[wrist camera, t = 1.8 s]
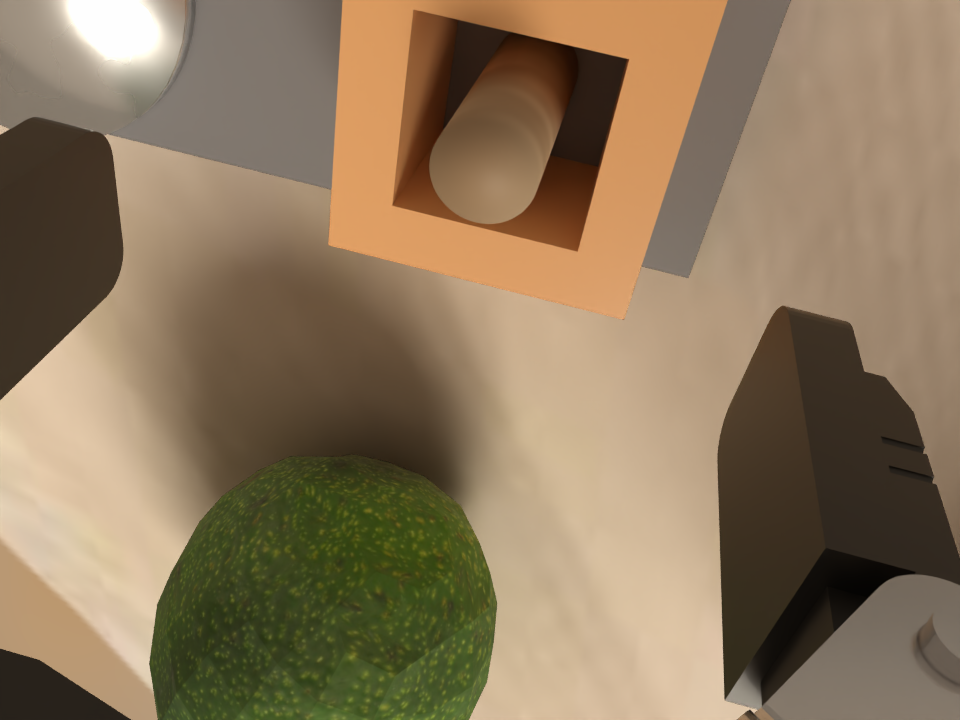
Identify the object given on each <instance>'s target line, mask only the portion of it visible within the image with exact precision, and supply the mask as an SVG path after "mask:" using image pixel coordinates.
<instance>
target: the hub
mask: <svg viewBox="0 0 960 720" xmlns="http://www.w3.org/2000/svg"><path fill="white" fill-rule="evenodd" d="M195 15H196V0H0V125H2V126H4V127H6V128H9V129H11V128H13V127H15V126H16V125H18V124H20V123H21V122H23V121H25V120H27V119H29V118H32V117H41V118H45V119H49V120H53V121H57V122H61V123H65V124H69V125H73V126H77V127H81V128H85V129H89V130H93V131H97V132H99V133H101V134H102V135H106V134H110V133H112V132H114V131H116V130H118V129H120V128H123V127H125V126H127V125H128V124H130V123H131V122H133V121H134V120H136V119H137V118H139V117H140V116H142V115H143V114H144V113H146V112H147V111H149V110H150V109H152V108H153V107H154V106H155V105H156V104H157V103H158V102H159V101H160V100H161V99H162V98H163V97H164V96H165V95H166V93H167V92H168V90H169V89H170V88H171V86H172V85H173V83H174V82H175V80H176V79H177V77H178V75H179V73H180V71H181V68H182V66H183V64H184V62H185V60H186V57H187V54H188V50H189V47H190V43H191V40H192V36H193V29H194V22H195Z"/></svg>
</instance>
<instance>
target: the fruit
mask: <svg viewBox="0 0 960 720" xmlns="http://www.w3.org/2000/svg"><path fill="white" fill-rule="evenodd" d="M496 610H497V601H496V596H495V592H494V588H493V583H492V579H491V575H490V571H489V568H488V566H487V563H486V560H485V557H484V554H483V551H482V549H481V546H480V543H479V541H478V539H477V537H476V535H475V533H474V531H473V529H472V527H471V525H470V523H469V521H468V519H467V517H466V515H465V514H464V512H463V510H462V508H461V506H460V505H459V504H458V503H457V502H455V501H454V500H453V499H452V498H450V497H449V496H448V495H447V494H445V493H444V492H443V491H442V490H440V489H439V488H438V487H437V486H435V485H434V484H433V483H432V482H430V481H429V480H428V479H427V478H425V477H424V476H422V475H420V474H417V473H415V472H412V471H409V470H407V469H404V468H402V467H399V466H396V465H394V464H391V463H389V462H385V461H381V460H377V459H373V458H368V457H364V456H360V455H355V454H352V455H346V456H340V457H317V456H290V457H288V458H286V459H284V460H281V461H279V462H277V463H275V464H272V465H270V466H268V467H266V468H263V469H261V470H259V471H258V472H256V473H255V474H253V475H252V476H250V477H249V478H248V479H246V480H245V481H243V482H242V483H240V484H239V485H238V486H236V487H235V488H233V489H232V490H230V491H229V492H228V493H226V494H225V495H223V496H222V497H221V498H220V499H219V501H218V502H217V503H216V504H215V505H214V506H213V507H212V508H211V510H210V511H209V512H208V513H207V514H206V515H205V516H204V517H203V519H202V520H201V521H200V522H199V524H198V526H197V527H196V529H195V531H194V533H193V535H192V536H191V538H190V540H189V542H188V543H187V545H186V547H185V549H184V551H183V552H182V554H181V556H180V558H179V560H178V561H177V563H176V565H175V567H174V568H173V570H172V572H171V574H170V577H169V579H168V581H167V584H166V586H165V588H164V590H163V593H162V595H161V597H160V600H159V602H158V604H157V611H156V618H155V626H154V633H153V640H152V648H151V655H150V663H149V665H150V671H151V677H152V684H153V690H154V697H155V704H156V710H157V717H158V720H469V718H470V716H471V714H472V712H473V710H474V708H475V706H476V704H477V702H478V699H479V697H480V695H481V693H482V691H483V689H484V687H485V685H486V683H487V678H488V672H489V666H490V660H491V654H492V649H493V643H494V632H495V621H496Z"/></svg>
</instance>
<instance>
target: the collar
mask: <svg viewBox="0 0 960 720" xmlns="http://www.w3.org/2000/svg"><path fill="white" fill-rule="evenodd" d="M727 1H728V0H343V2H342V19H341V36H340V53H339V70H338V88H337V105H336V122H335V139H334V156H333V174H332V191H331V208H330V225H329V243H328V245H330V246H334V247H338V248H342V249H346V250H349V251H353V252H357V253H361V254H365V255H369V256H373V257H377V258H381V259H385V260H389V261H393V262H397V263H401V264H405V265H409V266H413V267H417V268H421V269H425V270H429V271H433V272H437V273H441V274H445V275H448V276H452V277H456V278H460V279H464V280H468V281H472V282H476V283H480V284H484V285H488V286H492V287H496V288H500V289H504V290H508V291H512V292H516V293H520V294H524V295H528V296H532V297H536V298H540V299H543V300H547V301H551V302H555V303H559V304H563V305H567V306H571V307H575V308H579V309H583V310H587V311H591V312H595V313H599V314H603V315H607V316H611V317H615V318H619V319H623V320H624V318H625V315H626V312H627V309H628V306H629V303H630V300H631V297H632V294H633V291H634V287H635V284H636V281H637V278H638V275H639V272H640V269H641V266H642V263H643V260H644V257H645V254H646V251H647V247H648V244H649V241H650V238H651V235H652V232H653V229H654V226H655V223H656V220H657V217H658V214H659V211H660V207H661V204H662V201H663V198H664V195H665V192H666V189H667V186H668V183H669V180H670V177H671V174H672V171H673V167H674V164H675V161H676V158H677V155H678V152H679V149H680V146H681V143H682V140H683V137H684V134H685V130H686V127H687V124H688V121H689V118H690V115H691V112H692V109H693V106H694V103H695V100H696V97H697V94H698V90H699V87H700V84H701V81H702V78H703V75H704V72H705V69H706V66H707V63H708V60H709V57H710V54H711V50H712V47H713V44H714V41H715V38H716V35H717V32H718V29H719V26H720V23H721V20H722V17H723V14H724V10H725V7H726V4H727ZM458 20H462V21H466V22H470V23H475V24H479V25H483V26H487V27H492V28H496V29H500V30H505V31H509V32H513V33H518V34H522V35H526V36H531V37H535V38H539V39H544V40H548V41H552V42H557V43H561V44H565V45H570V46H574V47H578V48H583V49H587V50H591V51H596V52H600V53H604V54H609V55H613V56H617V57H622V58H626V59H627V60H626V64H625V67H624V71H623V75H622V79H621V82H620V86H619V90H618V94H617V98H616V101H615V105H614V109H613V113H612V116H611V120H610V124H609V128H608V131H607V135H606V139H605V143H604V146H603V150H602V154H601V158H600V161H599V165H598V167H597V166H593V165H589V164H585V163H580V162H576V161H572V160H568V159H564V158H560V157H556V156H551V155H550V156H549V159H548V162H547V164H546V167H545V170H544V173H543V175H542V178H541V181H540V184H539V186H538V189H537V192H536V194H535V196H534V199H533V200H532V202H531V203H530V205H529V206H528V207H527V208H526V209H525V210H524V211H523V212H522V213H521V214H519V215H518V216H516V217H515V218H513V219H511V220H508V221H505V222H502V223H496V224H482V223H476V222H472V221H469V220H467V219H464V218H462V217H460V216H459V215H457V214H455V213H454V212H453V211H451V210H450V209H449V208H448V207H447V206H446V205H445V204H444V203H443V202H442V201H441V199H440V198H439V196H438V195H437V193H436V191H435V189H434V187H433V184H432V181H431V177H430V170H429V163H430V156H431V152H432V149H433V147H434V145H435V143H436V141H437V139H438V138H439V136H440V135H441V133H442V132H443V125H444V118H445V111H446V104H447V96H448V89H449V82H450V75H451V68H452V61H453V54H454V46H455V39H456V32H457V25H458Z"/></svg>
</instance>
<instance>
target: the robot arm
mask: <svg viewBox="0 0 960 720" xmlns="http://www.w3.org/2000/svg"><path fill="white" fill-rule="evenodd" d="M122 261H123V240H122V232H121V223H120V214H119V206H118V197H117V188H116V179H115V171H114V162H113V155H112V150H111V147H110V144H109V142H108V140H107V139H106V137H105V136H104V135H102V134H101V133H99V132H97V131H93V130H89V129H85V128H81V127H77V126H73V125H69V124H65V123H61V122H57V121H53V120H49V119H45V118H41V117H32V118H29V119H27V120H25V121H23V122H21V123H20V124H18V125H16V126H15V127H13V128H11V129H10V130H8V131H6V132H5V133H3V134H1V135H0V400H1V399H2V398H3V397H4V396H5V395H6V394H7V393H8V392H9V391H10V390H11V389H12V388H13V387H14V386H15V385H16V384H17V383H18V382H19V381H20V380H21V379H22V378H23V377H24V376H25V375H26V374H28V373H29V372H30V371H31V370H32V369H33V368H34V367H35V366H36V365H37V364H38V363H39V362H40V361H41V360H42V359H43V358H44V357H45V356H46V355H47V354H48V353H49V352H50V351H51V350H52V349H53V348H54V347H55V346H56V345H57V344H58V343H59V342H60V341H61V340H62V339H63V338H65V337H66V336H67V335H68V334H69V333H70V332H71V331H72V330H73V329H74V328H75V327H76V326H77V325H78V324H79V323H80V322H81V321H82V320H83V319H84V318H85V317H86V316H87V315H88V314H89V313H90V312H91V311H92V310H93V309H94V308H95V307H96V306H97V305H98V304H99V303H100V302H102V301H103V300H104V299H105V298H106V297H107V295H108V294H109V293H110V292H111V290H112V289H113V287H114V285H115V283H116V281H117V279H118V277H119V273H120V270H121V266H122ZM924 448H925V447H924V444H923V441H922V437H921V434H920V431H919V428H918V425H917V422H916V418H915V415H914V412H913V411H912V410H911V408H910V407H909V406H908V405H907V404H906V402H905V401H904V400H903V399H902V397H901V396H900V395H899V394H898V392H897V391H896V390H895V389H894V387H893V386H892V385H891V384H890V383H889V381H888V380H887V379H886V378H885V377H883V376H879V375H875V374H871V373H867V372H864V369H863V365H862V362H861V358H860V354H859V350H858V346H857V342H856V338H855V335H854V331H853V328H852V326H851V324H850V323H848V322H846V321H842V320H838V319H834V318H830V317H826V316H822V315H818V314H814V313H810V312H806V311H802V310H798V309H794V308H790V307H786V306H781V307H780V308H778V309H777V310H776V312H775V313H774V314H773V316H772V318H771V319H770V321H769V323H768V325H767V327H766V329H765V332H764V334H763V336H762V338H761V340H760V342H759V344H758V346H757V349H756V351H755V353H754V355H753V357H752V359H751V361H750V363H749V366H748V368H747V370H746V372H745V374H744V376H743V378H742V380H741V383H740V385H739V387H738V389H737V391H736V393H735V395H734V397H733V399H732V402H731V404H730V406H729V408H728V411H727V414H726V416H725V419H724V423H723V426H722V430H721V434H720V440H719V446H718V493H719V526H720V560H721V593H722V627H723V660H724V694H725V701H728V702H732V703H735V704H739V705H743V706H746V707H750V708H753V709H757V710H758V711H756V712H755V713H753V712H752V711H751V710H749V711H747V712H745V713H744V714H743V715H742V716H740V717H739V718H738V719H737V720H960V557H959V554H958V551H957V548H956V545H955V542H954V538H953V535H952V532H951V529H950V526H949V523H948V520H947V516H946V513H945V510H944V507H943V504H942V501H941V497H940V494H939V491H938V488H937V485H936V484H932V481H933V478H934V475H933V472H932V469H931V466H930V463H929V459H928V456H927V454H923V450H924ZM0 720H131V719H129V718H127V717H126V716H124V715H123V714H121V713H120V712H118V711H117V710H115V709H114V708H112V707H111V706H109V705H107V704H106V703H105V702H103V701H101V700H100V699H98V698H97V697H95V696H94V695H92V694H90V693H89V692H88V691H86V690H84V689H83V688H81V687H80V686H78V685H76V684H75V683H74V682H72V681H70V680H69V679H68V678H66V677H64V676H63V675H61V674H60V673H58V672H57V671H55V670H53V669H52V668H51V667H49V666H48V665H46V664H45V663H43V662H42V661H40V660H37V659H34V658H30V657H27V656H23V655H20V654H16V653H13V652H10V651H6V650H3V649H0Z"/></svg>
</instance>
